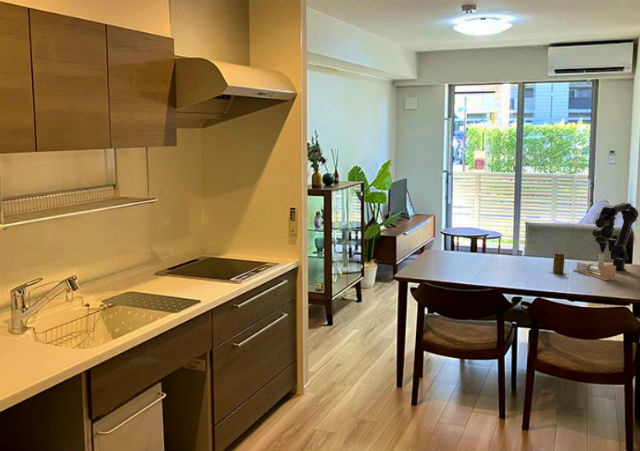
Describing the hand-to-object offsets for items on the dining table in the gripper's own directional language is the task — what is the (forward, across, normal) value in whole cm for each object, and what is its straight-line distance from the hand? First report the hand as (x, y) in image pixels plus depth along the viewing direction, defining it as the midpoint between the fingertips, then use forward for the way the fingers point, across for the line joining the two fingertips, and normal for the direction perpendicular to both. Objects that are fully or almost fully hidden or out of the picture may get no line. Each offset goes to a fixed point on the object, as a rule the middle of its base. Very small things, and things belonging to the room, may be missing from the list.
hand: (606, 251), depth 385 cm
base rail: (+13, +12, -1) cm, 18 cm away
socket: (+12, +15, +9) cm, 21 cm away
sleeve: (+12, +10, -8) cm, 17 cm away
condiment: (+13, +24, -16) cm, 32 cm away
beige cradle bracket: (+11, +13, +3) cm, 17 cm away
